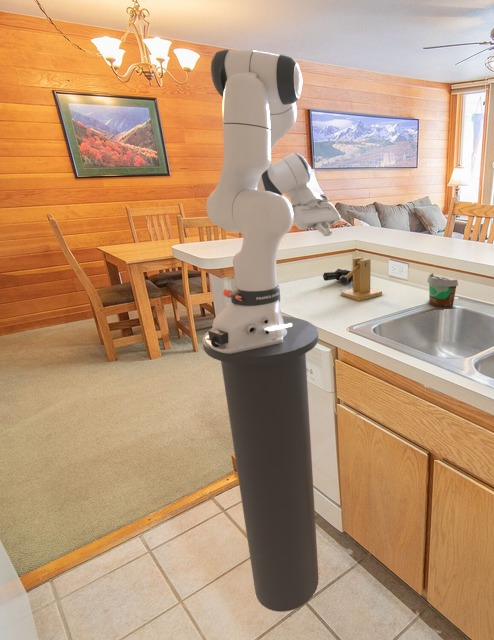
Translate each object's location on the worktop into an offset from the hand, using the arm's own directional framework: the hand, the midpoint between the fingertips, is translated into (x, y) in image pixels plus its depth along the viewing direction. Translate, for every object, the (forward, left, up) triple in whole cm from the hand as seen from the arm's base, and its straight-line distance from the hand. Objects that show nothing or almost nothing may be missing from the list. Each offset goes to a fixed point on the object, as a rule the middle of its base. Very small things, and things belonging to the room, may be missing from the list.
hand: (328, 234), depth 154 cm
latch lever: (+6, -7, -14) cm, 17 cm away
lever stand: (+10, -7, -22) cm, 25 cm away
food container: (+22, -34, -23) cm, 46 cm away
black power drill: (+18, +9, -23) cm, 30 cm away
